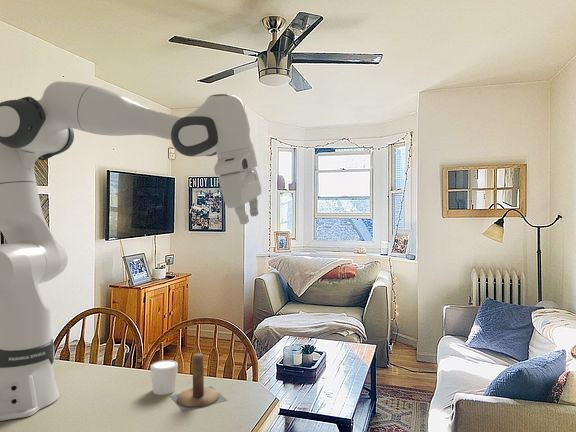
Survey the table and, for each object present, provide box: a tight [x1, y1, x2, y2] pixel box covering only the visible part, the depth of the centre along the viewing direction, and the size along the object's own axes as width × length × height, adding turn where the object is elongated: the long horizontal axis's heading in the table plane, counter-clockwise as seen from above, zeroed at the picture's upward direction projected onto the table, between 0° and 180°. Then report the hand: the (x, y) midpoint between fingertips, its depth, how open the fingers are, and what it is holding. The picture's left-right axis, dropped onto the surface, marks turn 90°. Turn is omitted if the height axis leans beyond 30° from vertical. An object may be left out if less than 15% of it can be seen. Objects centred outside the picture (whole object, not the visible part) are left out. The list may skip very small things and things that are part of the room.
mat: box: [169, 385, 228, 413], centre depth 106 cm, size 11×10×1 cm
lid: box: [177, 352, 220, 408], centre depth 106 cm, size 10×10×11 cm
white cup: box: [149, 359, 179, 396], centre depth 111 cm, size 7×7×7 cm
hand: (250, 219), depth 104 cm, fingers open, 8 cm apart
